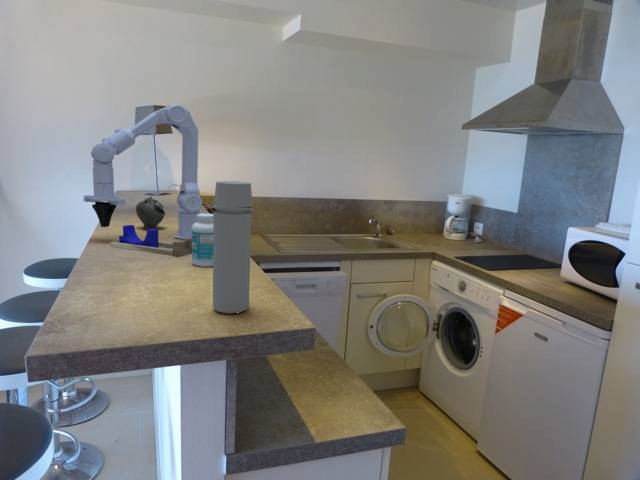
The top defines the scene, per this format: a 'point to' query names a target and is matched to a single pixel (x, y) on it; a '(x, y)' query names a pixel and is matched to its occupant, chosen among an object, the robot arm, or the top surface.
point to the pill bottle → (202, 241)
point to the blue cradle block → (132, 237)
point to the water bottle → (231, 246)
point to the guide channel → (178, 248)
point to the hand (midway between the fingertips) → (105, 226)
